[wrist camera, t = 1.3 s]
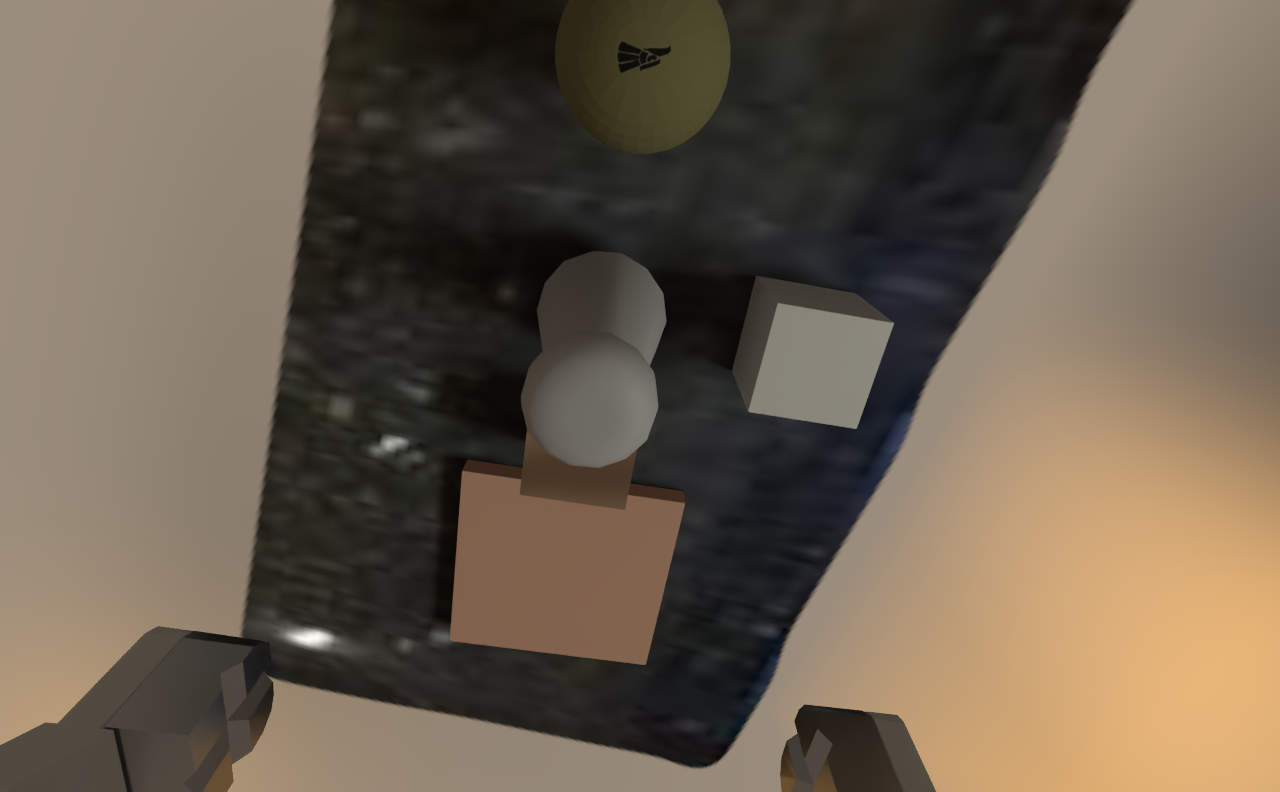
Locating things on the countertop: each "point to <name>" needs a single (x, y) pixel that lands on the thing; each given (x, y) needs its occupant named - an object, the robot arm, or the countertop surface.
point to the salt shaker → (595, 360)
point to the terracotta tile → (560, 568)
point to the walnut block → (575, 479)
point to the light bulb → (642, 69)
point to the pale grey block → (809, 352)
